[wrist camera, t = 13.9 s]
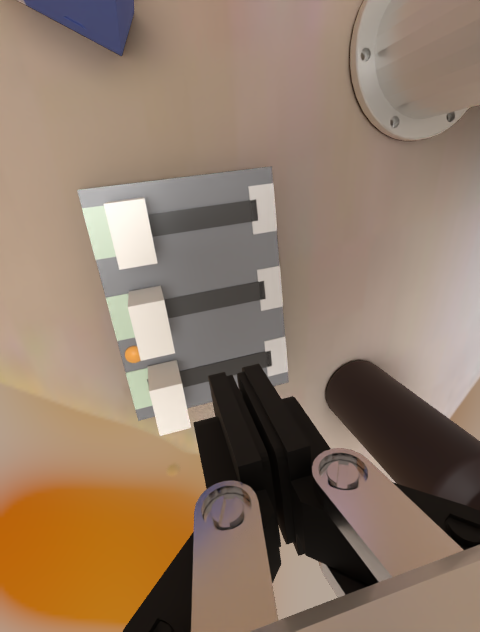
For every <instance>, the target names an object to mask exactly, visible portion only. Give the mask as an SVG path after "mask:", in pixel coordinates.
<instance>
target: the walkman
mask: <svg viewBox="0 0 480 632" xmlns="http://www.w3.org/2000/svg"><path fill="white" fill-rule="evenodd" d="M17 1H19V2H21V3H23V4H25V5H26V6H29V7H31V8H32V9H34V10H36V11H38V12H40V13H42V14H44V15H46V16H47V17H49V18H51V19H53V20H55V21H57V22H59V23H60V24H62V25H64V26H66V27H68V28H70V29H72V30H74V31H75V32H77V33H79V34H81V35H83V36H85V37H87V38H89V39H90V40H92V41H94V42H96V43H98V44H100V45H102V46H104V47H105V48H107V49H109V50H111V51H113V52H115V53H117V54H119V55H120V56H122V54H123V50H124V47H125V43H126V40H127V36H128V33H129V29H130V25H131V22H132V18H133V15H134V0H17Z"/></svg>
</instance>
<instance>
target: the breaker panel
mask: <svg viewBox="0 0 480 632" xmlns="http://www.w3.org/2000/svg"><path fill="white" fill-rule="evenodd" d="M77 191H78V195H79V199H80V202H81V206H82V211H83V215H84V218H85V222H86V226H87V230H88V233H89V237H90V241H91V245H92V248H93V252H94V256H95V260H96V263H97V266H98V270H99V274H100V278H101V281H102V285H103V289H104V293H105V297H106V301H107V305H108V309H109V312H110V316H111V320H112V324H113V327H114V331H115V335H116V339H117V342H118V346H119V349H120V353H121V357H122V361H123V364H124V368H125V372H126V376H127V380H128V384H129V388H130V391H131V395H132V399H133V403H134V406H135V410H136V413H137V417H138V421H139V420H143V419H147V418H151V417H155V414H154V410H153V406H152V401H151V397H150V393H149V383H148V367H147V366H152V365H156V364H161V363H165V362H169V361H174V360H177V364H178V368H179V372H180V377H181V381H182V385H183V390H184V395H185V400H186V405H187V408H190V407H194V406H198V405H202V404H206V403H210V402H213V401H212V396H211V390H210V385H209V380H208V376H209V375H213V374H217V373H221V372H225V373H226V376H228V375H233V377H234V379H235V382H236V384H237V386H238V380H237V373H240V372H242V367H246V366H250V365H254V364H260V366H261V367H262V369H263V371H264V372H265V374H266V375H267V377H268V379H269V380H270V382H271V383H272V385H273V386H276V385H280V384H284V383H287V382H289V380H288V363H287V350H286V337H285V329H284V317H283V299H282V286H281V273H280V266H279V253H278V240H277V222H276V209H275V196H274V184H273V177H272V166H271V167H263V168H254V169H246V170H238V171H230V172H221V173H213V174H205V175H197V176H188V177H180V178H172V179H164V180H155V181H147V182H139V183H131V184H122V185H114V186H106V187H98V188H89V189H81V190H77ZM142 197H144V198H145V203H146V208H147V213H148V218H149V223H150V228H151V233H152V238H153V243H154V248H155V253H156V257H157V262H158V263H157V264H151V265H145V266H139V267H133V268H127V269H121V270H119V266H118V262H117V258H116V254H115V250H114V246H113V242H112V237H111V233H110V229H109V225H108V221H107V217H106V213H105V209H104V205H103V204H104V203H107V202H111V201H119V200H126V199H134V198H142ZM156 286H161V289H162V293H163V297H164V301H165V306H166V311H167V316H168V321H169V325H170V330H171V335H172V340H173V345H174V350H175V353H174V354H170V355H165V356H161V357H156V358H152V359H147V360H143V361H141V360H140V356H139V352H138V347H137V343H136V339H135V335H134V331H133V327H132V323H131V319H130V315H129V311H128V295H129V291H134V290H139V289H145V288H150V287H156ZM238 388H239V386H238Z"/></svg>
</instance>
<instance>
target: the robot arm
mask: <svg viewBox="0 0 480 632" xmlns="http://www.w3.org/2000/svg"><path fill="white" fill-rule="evenodd" d="M350 68H351V77H352V83H353V87H354V90H355V94H356V98H357V100H358V102H359V104H360V106H361V108H362V110H363V112H364V113H365V115H366V116H367V118H368V119H369V120H370V122H371V123H372V124H373V125H374V126H375V127H376V128H377V129H379V130H380V131H381V132H382V133H384V134H386V135H388V136H390V137H391V138H395V139H399V140H403V141H416V140H421V139H427V138H430V137H433V136H436V135H438V134H440V133H442V132H444V131H445V130H447V129H448V128H450V127H451V126H452V125H454V124H455V123H456V122H457V121H458V120H459V119H460V118H461V117H462V116H463V115H464V113H465V112H466V111H467V110H468V108H469V107H473V106H477V105H480V0H364V1H363V3H362V5H361V7H360V9H359V12H358V15H357V18H356V22H355V25H354V28H353V34H352V40H351V47H350ZM208 380H209V385H210V390H211V396H212V401H213V406H214V411H215V416H216V417H213V418H209V419H205V420H201V421H198V422H194V428H195V433H196V438H197V443H198V448H199V453H200V458H201V463H202V468H203V473H204V477H205V483H206V488H207V489H206V491H204V493H203V494H202V495H201V496H200V498H199V499H198V501H197V503H196V507H195V512H194V532H193V533H192V535H191V536H190V538H189V539H188V540H187V542H186V543H185V545H184V546H183V547H182V549H181V550H180V551H179V553H178V554H177V556H176V557H175V559H174V560H173V561H172V563H171V564H170V565H169V567H168V568H167V570H166V571H165V572H164V574H163V575H162V577H161V578H160V579H159V581H158V582H157V584H156V585H155V586H154V588H153V589H152V591H151V592H150V593H149V595H148V596H147V597H146V599H145V600H144V602H143V603H142V604H141V606H140V607H139V609H138V610H137V612H136V613H135V614H134V616H133V617H132V619H131V620H130V621H129V623H128V624H127V625H126V627H125V629H124V630H123V632H480V511H479V510H476V509H474V508H472V507H469V506H467V505H463V504H460V503H457V502H454V501H451V500H447V499H444V498H441V497H438V496H435V495H431V494H428V493H425V492H422V491H418V490H415V489H412V488H409V487H406V486H402V485H399V484H396V483H393V482H391V481H390V480H389V479H388V478H387V477H386V476H385V475H384V474H383V473H382V472H381V471H380V470H379V469H378V468H377V467H375V466H374V465H373V464H372V463H371V462H370V461H369V460H368V459H367V458H366V457H364V456H363V455H361V454H360V453H358V452H355V451H353V450H349V449H344V448H336V449H330V447H329V446H328V444H327V443H326V441H325V440H324V439H323V437H322V436H321V434H320V433H319V431H318V430H317V429H316V427H315V426H314V424H313V423H312V421H311V420H310V418H309V417H308V416H307V414H306V413H305V411H304V410H303V408H302V407H301V405H300V404H299V403H298V401H297V400H296V399H295V397H293V396H292V397H288V398H284V399H281V398H280V396H279V395H278V393H277V391H276V390H275V388H274V387H273V385H272V383H271V382H270V380H269V379H268V377H267V375H266V374H265V372H264V371H263V369H262V367H261V366H260V364H254V365H250V366H246V367H242V372H240V373H237V380H238V386H239V388H238V386H237V384H236V382H235V379H234V377H233V375H228V376H226V373H225V372H221V373H217V374H213V375H209V376H208ZM278 525H279V526H278ZM279 527H280V530H281V532H282V535H283V538H284V540H285V542H286V544H289V543H293V544H294V546H295V549H296V551H297V553H298V555H302V554H305V555H306V556H308V557H311V558H313V559H315V560H317V561H319V566H320V568H321V570H322V573H323V574H324V576H325V577H326V579H327V581H328V582H329V584H330V586H331V587H332V589H333V590H334V592H335V594H336V595H337V597H338V598H336V599H334V600H331V601H329V602H326V603H323V604H321V605H318V606H315V607H313V608H310V609H307V610H305V611H303V612H300V613H297V614H295V615H292V616H289V617H287V618H284V619H281V620H279V621H278V615H277V609H276V603H275V597H274V592H273V586H272V583H273V581H274V579H275V576H276V574H277V572H278V570H279V567H280V566H281V558H280V551H279V547H281V542H280V534H279Z"/></svg>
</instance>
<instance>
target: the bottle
mask: <svg viewBox="0 0 480 632" xmlns="http://www.w3.org/2000/svg"><path fill="white" fill-rule="evenodd" d="M326 400H327V403H328V406H329V408H330V409H331V410H332V411H333V412H334V414H335V415H336V416H337V417H338V418H339V419H340V420H341V421H342V423H343V424H344V425H345V426H346V427H347V428H348V429H349V430H350V432H351V433H352V434H353V435H354V436H355V437H356V438H357V439H358V441H359V442H360V443H361V444H362V445H363V446H364V447H365V448H366V450H367V451H368V452H369V453H370V454H371V455H372V456H373V457H374V459H375V460H376V461H377V462H378V463H379V464H380V465H381V466H382V468H383V469H384V470H385V471H386V472H387V473H388V474H389V475H390V477H391V478H392V479H393V480H394V481H395V482H396V483H397V484H399V485H402V486H406V487H409V488H412V489H415V490H418V491H422V492H425V493H428V494H431V495H435V496H438V497H441V498H444V499H447V500H451V501H454V502H457V503H460V504H463V505H467V506H469V507H472V508H474V509H476V510H479V511H480V441H478V440H477V439H476V438H475V437H473V436H472V435H470V434H469V433H468V432H466V431H465V430H464V429H462V428H461V427H459V426H458V425H457V424H455V423H454V422H453V421H451V420H450V419H448V418H447V417H446V416H444V415H443V414H442V413H440V412H439V411H438V410H436V409H435V408H433V407H432V406H431V405H429V404H428V403H427V402H425V401H424V400H422V399H421V398H420V397H418V396H417V395H416V394H414V393H413V392H412V391H410V390H409V389H407V388H406V387H405V386H403V385H402V384H401V383H399V382H398V381H396V380H395V379H394V378H392V377H391V376H390V375H388V374H387V373H386V372H384V371H383V370H381V369H380V368H379V367H377V366H376V365H374V364H372V363H371V362H368V361H361V360H359V361H354V362H350V363H348V364H346V365H344V366H342V367H341V368H340V369H339V370H338V371H337V372H335V374H334V375H333V376H332V378H331V379H330V381H329V383H328V386H327V389H326Z"/></svg>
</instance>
